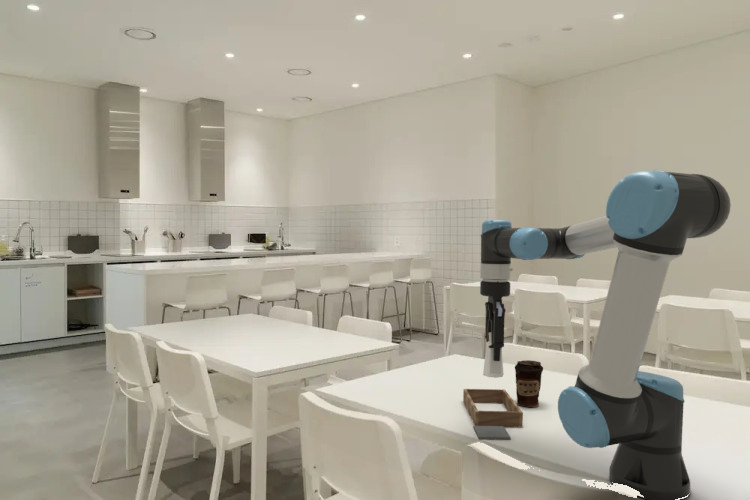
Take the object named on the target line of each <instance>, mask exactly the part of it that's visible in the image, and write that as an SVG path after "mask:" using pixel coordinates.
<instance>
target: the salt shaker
mask: <svg viewBox="0 0 750 500" xmlns="http://www.w3.org/2000/svg"><path fill="white" fill-rule="evenodd" d="M485 345H486V347H485V356H484V364H483V373H482V375H483V376H484V377H487V378H494V379H497V378H498V379H499V378H503V377H504V373H505V372H504V363H503V362H504V361H503V356H502V357H501V374H492V373H490V348H489V346H491V345H492V342H491V332H489V341H488V342H486V344H485Z"/></svg>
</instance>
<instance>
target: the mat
mask: <svg viewBox="0 0 750 500" xmlns="http://www.w3.org/2000/svg"><path fill="white" fill-rule="evenodd" d="M472 428H473V430H474V432H475V434H476V437H477V438H478V440H500V441H501V440H502V441H503V440H505V441H510V440H511V439H512V438H511V435H510V434H509V433H508V431H507V430H506V427H504V426H475V425H473V426H472Z"/></svg>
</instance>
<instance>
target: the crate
mask: <svg viewBox="0 0 750 500" xmlns="http://www.w3.org/2000/svg"><path fill="white" fill-rule="evenodd" d="M462 393H463V396H462V397H463V399H462V400H463V401H462V402H463V405H465V408H466V410H467V412H468V415H469V416H471V417H470V418H472V419H471V420H473V421H472V422H473V426H504V428H523V427H524V426H523V421H524V419H523V418H524V417H523V416H524V412H523V410H522V409H521V408H520V406H519V405H518V404H517V402H515V401H514V399H513V398H512V397H511V395H510V394H509V393H508V391H506V389H495V388H494V389H492V388H491V389H490V388H485V389H484V388H463V392H462ZM476 404H502V405H503V406H504V408H505V409H506V410H478V408H477V406H476Z"/></svg>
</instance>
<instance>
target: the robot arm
mask: <svg viewBox="0 0 750 500" xmlns="http://www.w3.org/2000/svg"><path fill="white" fill-rule="evenodd" d="M731 205H732V204H731V198H730V195H729V193H728V191H727V190H726V188H725V187H724V186H723V185H722V184H721V183H720V182H719V181H718V180H716V179H714V178H713V177H710V176H708V175H705V174H698V173H684V172H683V173H681V172H672V171H666V170H665V171H663V170H657V169H654V170H641V171H635V172H632V173H630V174H628V175H627V176H626V177H624V178H622V179H620V181H618V182H617V183H616V184H615V186H614V187H613V189H612V190H611V192H610V193H609V196H608V199H607V202H606V207H605V208H606V209H605V215H604V216H598V217H596V218H592V219H589V220H585V221H582V222H578V223H575V224H572V225H568V226H565V227H561V228H556V227H555V228H545V227H544V228H542V227H529V226H528V227H527V226H525V227H512V222H511V221H510V220H507V219H506V220H505V219H504V220H503V219H492V220H491V219H488V220H484V221H483V222H482V224H481V234H480V275H479V276H480V279H481V281H480V286H479V287H480V288H479V291H480V292H479V293H480V294H479V295H481V296H484V297H488V298H487V301H485V302H484V306H485V327H484V328H485V330H484V331H485V333H484V335H485V336H484V338H485V341H486V343H487V342H488V341H489V332H491V342H492V345H491V346H489V348H490V373H492V374H501V357H502V358H503V350H502V348H505V316H506V308H505V303H503V298H507V297H509V296H510V295H511V282H510V281H509V280H510V279H511V272H512V271H513V269H514V268H513V267H511V264H512V263H511V259H516V260H523V261H533V260H546V259H547V260H550V259H551V260H553V259H555V260H556V259H557V260H558V259H559V260H560V259H561V260H562V259H563V260H564V259H566V260H575V259H580V258H583V257H584V256H585V255H587V254H592V253H597V252H601V251H606V250H611V249H615V248H617V250H618V253H617V256H616V260H615V264H614V269H613V272H612V275H611V279H610V284H609V287H608V290H607V295H606V298H605V303H604V306H603V309H602V315H601V318H600V322H599V325H598V330H597V333H596V336H595V340H594V344H593V348H592V353H591V356H590V361H589V363H588V364H587V365H584V366H582V367H581V368H580V369H579V370H578V373H577V377H576V381H575V384H574V386H571V385H570V386H568V387H566V388H565V389H563V390H562V391H561V392H560V394H559V396H558V400H557V411H558V413H557V414H558V418H559V420H560V423H561V424H562V427H563V429H564V431H565V432H566V434H567V435H568V436H569V438H570V439H571V440H572V441H573V442H575V443H576V444H577V445H579V446H581V447H583V448H586V449H593V448H598V449H599V448H600V449H603V448H606V447H609V446H614V445H617V448H616V450H615V453H614V455H613V457H612V460H611V461H610V462H611V463H610V465H609V469H608V471H609V473H608V474H609V476H608V479H609V481H610V483H611V482H613V483H618V484H623V485H627V486H629V487H631V488H633V489H635V490H637V491H639V492H640V494H641V495H643V496H644V498H645V500H675V499H678V498H682V497H685V496H687V495H688V494H689V493H690V494H691V479H690V477H689V474H688V470H687V467H686V463H685V460H684V457H683V423H684V421H683V420H684V403H685V399H684V398H685V397H684V387H683V385H682V383H681V382H679V380H677V379H675V378H672V377H668V376H666V375H660V374H657V373H652V372H646V371H642V370H641V371H640V366H641V363H642V360H643V356H644V353H645V349H646V346H647V343H648V339H649V336H650V333H651V329H652V325H653V322H654V320H655V319H654V318H655V315H656V313H657V308H658V305H659V301H660V297H661V294H662V290H663V287H664V283H665V280H666V277H667V273H668V271H669V270H668V269H669V266H670V263H671V262H672V261H673V260H676V259H678V258H679V257H681V256H682V255H683V252H684V250H685V247H686V246H685V245H686V243H687V239H699V238H703V237H704V238H705V237H707V236H710V235H713V234H715V232H718V230H720V229H721V228H722V227H723V225H724V224H726V222H727V220H728V218H729V215H730V212H731ZM644 498H643V499H644Z"/></svg>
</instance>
